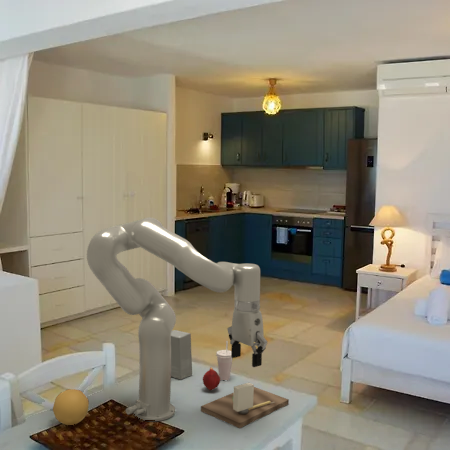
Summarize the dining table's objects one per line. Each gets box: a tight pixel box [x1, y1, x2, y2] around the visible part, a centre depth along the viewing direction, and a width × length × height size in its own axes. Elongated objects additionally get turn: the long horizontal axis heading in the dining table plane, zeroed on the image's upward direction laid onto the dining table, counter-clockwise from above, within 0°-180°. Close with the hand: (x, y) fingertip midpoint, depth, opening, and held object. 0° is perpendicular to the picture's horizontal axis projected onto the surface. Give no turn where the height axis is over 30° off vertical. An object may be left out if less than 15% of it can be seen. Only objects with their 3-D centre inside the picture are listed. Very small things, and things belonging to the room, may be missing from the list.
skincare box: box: [171, 329, 193, 380], centre depth 198 cm, size 8×7×16 cm
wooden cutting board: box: [200, 386, 290, 429], centre depth 173 cm, size 24×16×2 cm, turn 138°
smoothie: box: [215, 340, 234, 381], centre depth 196 cm, size 6×6×14 cm
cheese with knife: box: [233, 382, 271, 414], centre depth 168 cm, size 14×3×8 cm, turn 128°
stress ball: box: [52, 388, 90, 426], centre depth 158 cm, size 10×10×10 cm
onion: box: [202, 367, 221, 391], centre depth 186 cm, size 6×6×8 cm
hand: (246, 361), depth 164 cm, fingers open, 9 cm apart
